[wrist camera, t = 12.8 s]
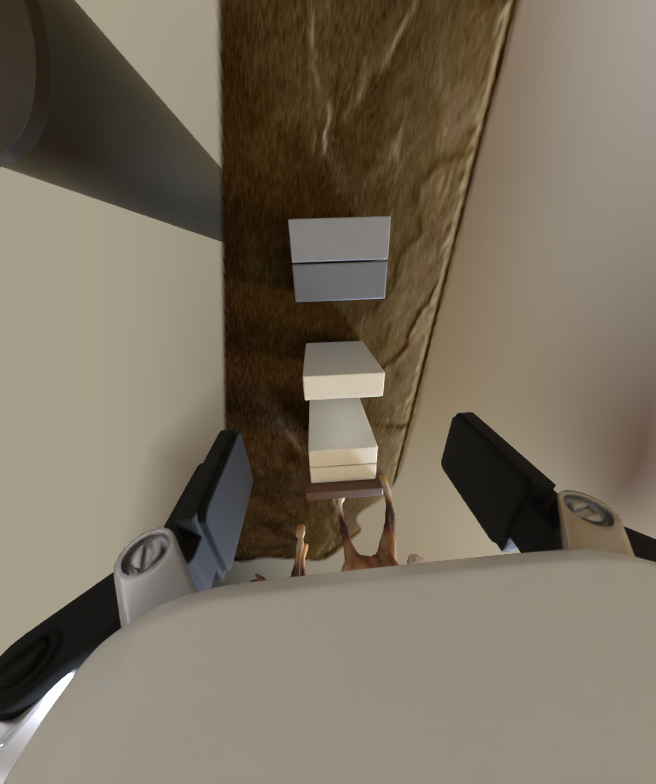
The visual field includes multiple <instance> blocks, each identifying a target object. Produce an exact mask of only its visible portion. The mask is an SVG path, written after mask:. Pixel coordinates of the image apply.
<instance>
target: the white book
mask: <svg viewBox="0 0 656 784" xmlns="http://www.w3.org/2000/svg"><path fill="white" fill-rule="evenodd" d="M384 375H385V372H384V371H383V369H382V368H381V367H380V365H379V364H378V362H377V361H376V360H375V358H374V357H373V356H372V354H371V353H370V351H369V350H368V349H367V347H366V346H365V344H364V343H363V342H362V341H346V342H324V343H306V349H305V359H304V368H303V387H304V399H305V400H319V399H338V398H356V397H375V396H383V387H384Z"/></svg>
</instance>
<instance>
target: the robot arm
mask: <svg viewBox="0 0 656 784" xmlns="http://www.w3.org/2000/svg"><path fill="white" fill-rule="evenodd" d="M441 464H442V468H443V470H444V471H445V473H446V474H447V475H448V477H449V479H450V480H451V482H452V483H453V485H454V486H455V488H456V489H457V491H458V492H459V494H460V495H461V497H462V498H463V500H464V501H465V502H466V504H467V506H468V507H469V509H470V510H471V512H472V513H473V515H474V516H475V517H476V519H477V520H478V522H479V523H480V525H481V526H482V528H483V529H484V531H485V532H486V534H487V535H488V537H489V538H490V539H491V540H492V541H493V542H494V543H496V544H497V545H498V547H499V548H500V549H501V551H502V552H506V551H516V550H517V548H518V549H519V551H520V552H521V553H515V554H505V555H495V556H485V557H476V558H466V559H456V560H445V561H435V562H426V563H416V564H407V565H397V566H388V567H379V568H369V569H360V570H351V571H342V572H333V573H324V574H315V575H306V576H297V577H288V578H280V579H272V580H264V581H256V582H249V583H242V584H234V585H228V586H222V587H217V588H211V586H212V582H221V581H223V580H224V577H225V573H226V570H230V569H231V567H232V564H233V560H234V556H235V552H236V548H237V544H238V540H239V536H240V532H241V528H242V525H243V521H244V517H245V513H246V509H247V505H248V501H249V497H250V493H251V489H252V485H253V477H252V473H251V469H250V465H249V461H248V457H247V454H246V450H245V446H244V442H243V438H242V435H241V433H240V432H239V433H237V431H236V430H235V429H234V430H222V431H220V433H219V434H218V436H217V438H216V440H215V442H214V444H213V446H212V447H211V449H210V451H209V453H208V455H207V457H206V459H205V460H204V463H202V464H200V465H198V467H197V468H196V470H195V472H194V474H193V476H192V477H191V479H190V481H189V483H188V484H187V486H186V488H185V490H184V492H183V494H182V495H181V497H180V499H179V501H178V502H177V504H176V506H175V508H174V510H173V511H172V513H171V515H170V517H169V519H168V520H167V522H166V524H165V526H164V528H155V529H152V530H149V531H147V532H145V533H143V534H141V535H140V536H138V537H137V538H135V539H134V540H132V541H131V542H130V543H129V544H128V545H127V546H126V547H125V548H124V549H123V551H122V552H121V553H120V555H119V556H118V558H117V560H116V562H115V565H114V572H113V573H112V574H110V575H109V576H107V577H106V578H104V579H103V580H102V581H100V582H99V583H97V584H96V585H95V586H93V587H92V588H90V589H89V590H88V591H86V592H85V593H83V594H82V595H80V596H79V597H77V598H76V599H75V600H73V601H72V602H70V603H69V604H68V605H66V606H65V607H63V608H62V609H60V610H59V611H58V612H56V613H55V614H53V615H52V616H51V617H49V618H48V619H46V620H45V621H43V622H42V623H40V624H39V625H38V626H36V627H35V628H34V629H32V630H31V631H29V632H28V633H26V634H25V635H24V636H23V637H21V638H20V639H19V640H17V641H16V642H15V643H14V644H13V645H11V646H10V647H9V648H8V649H7V650H6V651H5V652H4V653H3V654H2V655H1V656H0V784H656V539H654V538H651V537H649V536H646V535H644V534H641V533H639V532H636V531H634V530H632V529H629V528H627V527H624V526H623V523H622V521H621V519H620V518H619V516H618V515H617V514H616V513H615V512H614V511H613V510H612V509H611V508H610V507H608V506H607V505H606V504H604V503H603V502H601V501H599V500H597V499H596V498H594V497H592V496H590V495H587V494H585V493H582V492H578V491H573V490H564V491H561V492H559V493H556V492H555V491H554V490H553V489H554V487H555V486H556V485H555V484H554V483H553V482H552V481H551V480H550V479H548V478H547V477H546V476H545V475H544V474H543V473H541V472H540V471H539V470H538V469H537V468H536V467H535V466H534V465H532V464H531V463H530V462H529V461H528V460H527V459H525V458H524V457H523V456H522V455H521V454H520V453H519V452H517V451H516V450H515V449H514V448H513V447H512V446H510V445H509V444H508V443H507V442H506V441H505V440H504V439H503V438H501V437H500V436H499V435H498V434H497V433H496V432H494V431H493V430H492V429H491V428H490V427H489V426H488V425H487V424H485V423H484V422H483V421H482V420H481V419H480V418H479V417H477V416H476V415H475V414H474V413H471V412H467V413H458V414H457V415H456V416H455V417H453V419H452V422H451V426H450V430H449V434H448V437H447V441H446V445H445V450H444V453H443V457H442V461H441Z"/></svg>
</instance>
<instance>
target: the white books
mask: <svg viewBox="0 0 656 784" xmlns="http://www.w3.org/2000/svg"><path fill="white" fill-rule="evenodd" d="M377 448H378V446H377V444H376V441H375V438H374V436H373V433H372V430H371V428H370V425H369V422H368V420H367V417H366V414H365V411H364V409H363V406H362V403H361V401H360V398H343V399H326V400H310V405H309V428H308V439H307V469H306V500H307V501H309V500H323V499H337V498H351V497H364V496H378V495H382V494H383V486H382V483H381V480H380V477H379V474H378V471H377V468H376V461H377Z"/></svg>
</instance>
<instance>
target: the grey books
mask: <svg viewBox="0 0 656 784" xmlns="http://www.w3.org/2000/svg"><path fill="white" fill-rule="evenodd" d="M390 221H391V216H376V217H343V218H310V219H288V226H289V236H290V247H291V258H292V263H294V265H293V266H292V269H293V280H294V291H295V301H296V302H312V301H335V300H359V299H382V298H385V289H386V275H387V261H380V260H385V259H388V249H389V235H390Z"/></svg>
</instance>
